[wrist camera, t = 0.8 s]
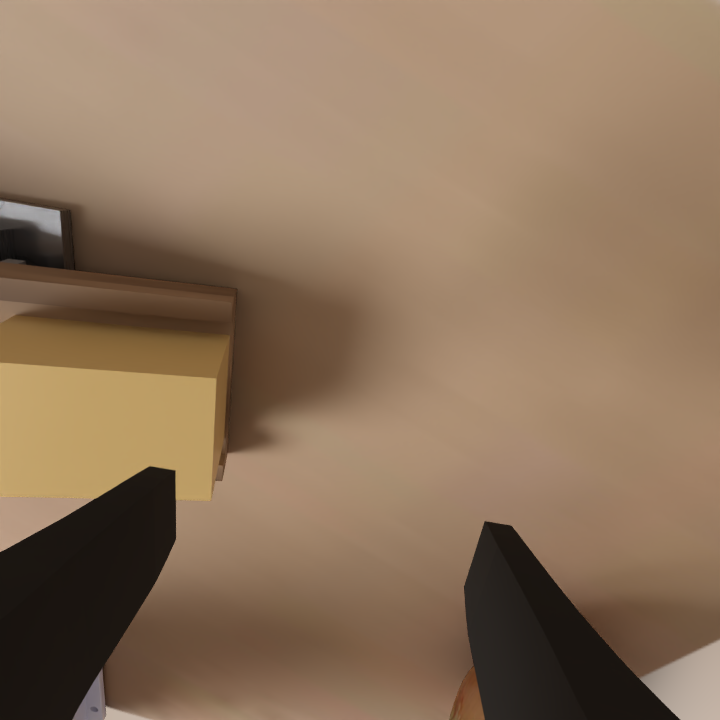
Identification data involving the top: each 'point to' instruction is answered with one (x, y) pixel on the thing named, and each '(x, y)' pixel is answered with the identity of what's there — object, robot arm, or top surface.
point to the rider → (108, 406)
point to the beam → (120, 306)
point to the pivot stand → (36, 234)
